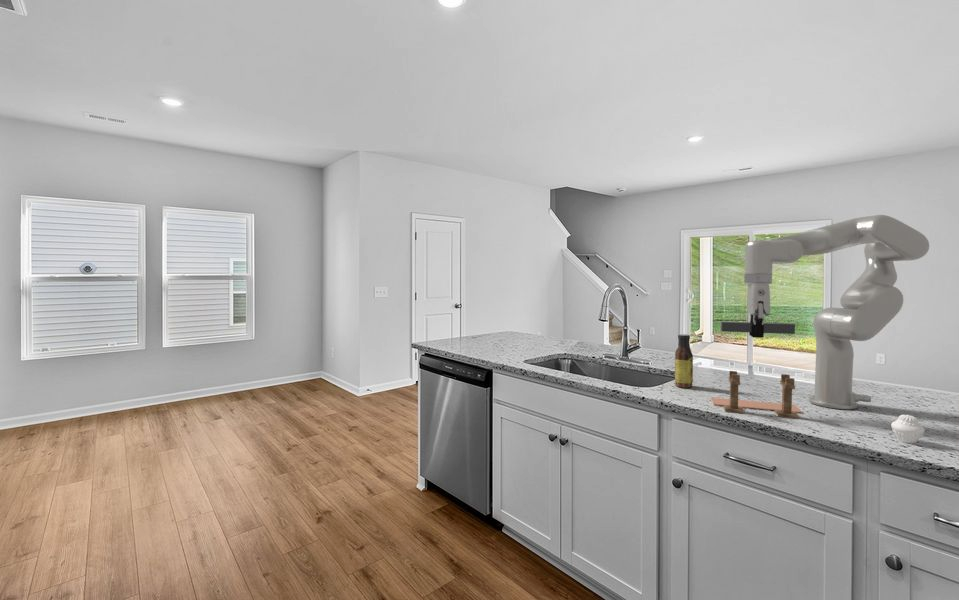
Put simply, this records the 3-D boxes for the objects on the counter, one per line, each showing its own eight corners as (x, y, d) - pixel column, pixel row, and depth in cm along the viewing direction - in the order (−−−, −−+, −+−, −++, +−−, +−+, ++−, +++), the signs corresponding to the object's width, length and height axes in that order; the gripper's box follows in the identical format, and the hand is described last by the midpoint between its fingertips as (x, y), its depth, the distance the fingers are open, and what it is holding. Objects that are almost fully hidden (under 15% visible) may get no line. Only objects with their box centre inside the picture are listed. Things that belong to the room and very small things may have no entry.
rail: (792, 332, 140) (792, 323, 140) (794, 334, 137) (795, 324, 137) (720, 330, 147) (720, 321, 147) (721, 331, 145) (722, 322, 144)
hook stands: (793, 413, 136) (794, 375, 135) (799, 419, 130) (800, 379, 129) (723, 407, 143) (724, 370, 142) (725, 412, 137) (726, 374, 136)
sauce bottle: (694, 389, 165) (695, 336, 164) (676, 388, 166) (677, 335, 165) (690, 384, 171) (691, 333, 170) (672, 384, 173) (673, 333, 171)
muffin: (927, 442, 112) (929, 415, 111) (918, 447, 109) (920, 419, 108) (895, 435, 117) (897, 409, 117) (886, 439, 114) (887, 413, 114)
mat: (794, 406, 143) (794, 404, 143) (802, 413, 136) (802, 412, 135) (711, 398, 152) (711, 397, 152) (714, 405, 144) (714, 404, 144)
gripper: (778, 280, 132) (776, 340, 133) (765, 279, 147) (764, 333, 148) (749, 280, 135) (747, 339, 136) (740, 279, 150) (738, 332, 151)
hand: (756, 336), depth 142 cm, fingers closed on rail, 3 cm apart
